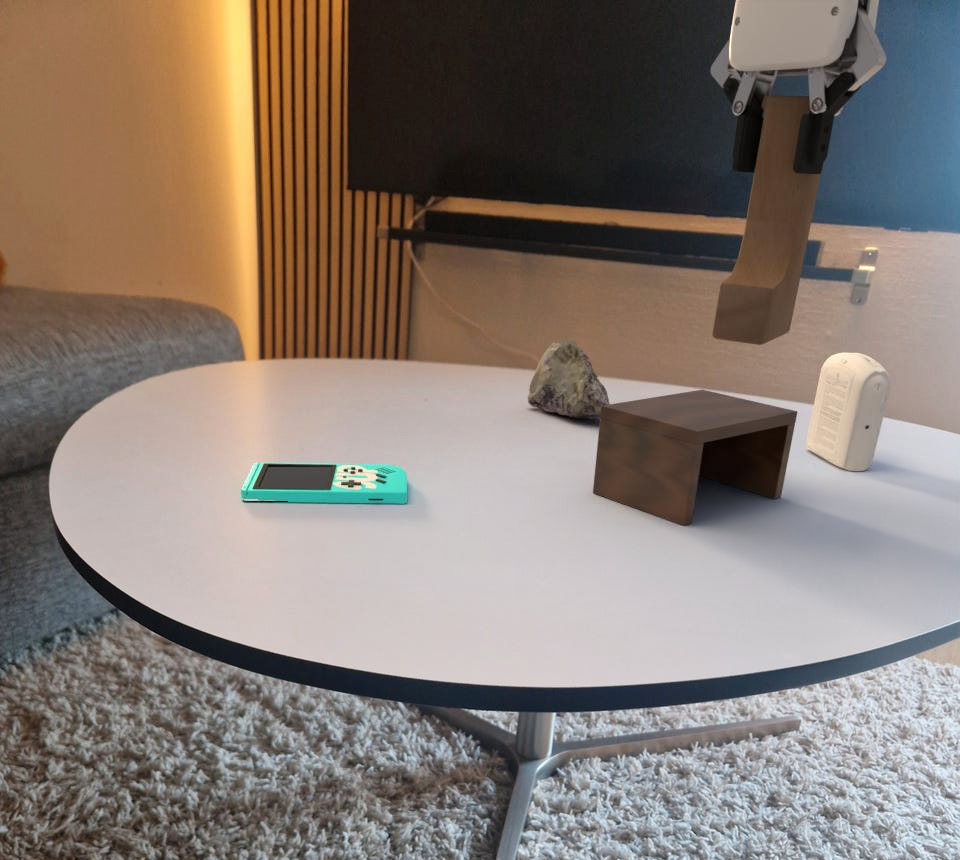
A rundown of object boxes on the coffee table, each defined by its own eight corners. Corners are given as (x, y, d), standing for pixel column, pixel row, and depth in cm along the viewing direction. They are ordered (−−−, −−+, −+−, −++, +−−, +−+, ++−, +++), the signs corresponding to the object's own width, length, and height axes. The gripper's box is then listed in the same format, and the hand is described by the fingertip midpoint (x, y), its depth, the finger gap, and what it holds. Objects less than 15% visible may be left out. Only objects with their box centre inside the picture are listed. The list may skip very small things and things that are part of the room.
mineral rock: (613, 429, 121) (621, 350, 116) (530, 426, 120) (536, 347, 116) (601, 407, 132) (608, 334, 128) (525, 404, 132) (530, 331, 127)
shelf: (781, 497, 97) (797, 411, 93) (683, 525, 88) (697, 431, 84) (690, 469, 105) (702, 389, 101) (592, 493, 96) (601, 405, 92)
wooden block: (763, 346, 76) (811, 90, 67) (709, 338, 77) (750, 89, 69) (789, 333, 83) (836, 101, 74) (740, 327, 84) (780, 99, 76)
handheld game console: (407, 504, 90) (407, 491, 89) (239, 502, 89) (238, 489, 88) (406, 474, 99) (406, 462, 98) (254, 472, 98) (253, 460, 97)
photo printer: (876, 471, 108) (902, 362, 102) (842, 472, 107) (866, 362, 101) (831, 448, 117) (852, 346, 111) (799, 448, 116) (819, 346, 110)
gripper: (963, -123, 63) (899, 177, 71) (750, -82, 74) (716, 172, 82) (910, -149, 58) (848, 174, 67) (692, -102, 70) (662, 169, 78)
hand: (776, 170), depth 74 cm, fingers closed on wooden block, 4 cm apart
